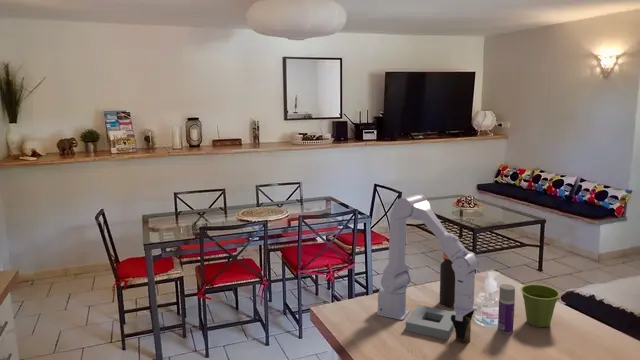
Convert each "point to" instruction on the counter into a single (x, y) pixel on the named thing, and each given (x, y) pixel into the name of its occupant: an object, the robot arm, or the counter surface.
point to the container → (506, 309)
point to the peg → (468, 332)
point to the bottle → (447, 282)
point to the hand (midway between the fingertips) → (463, 332)
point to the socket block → (431, 322)
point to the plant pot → (539, 303)
